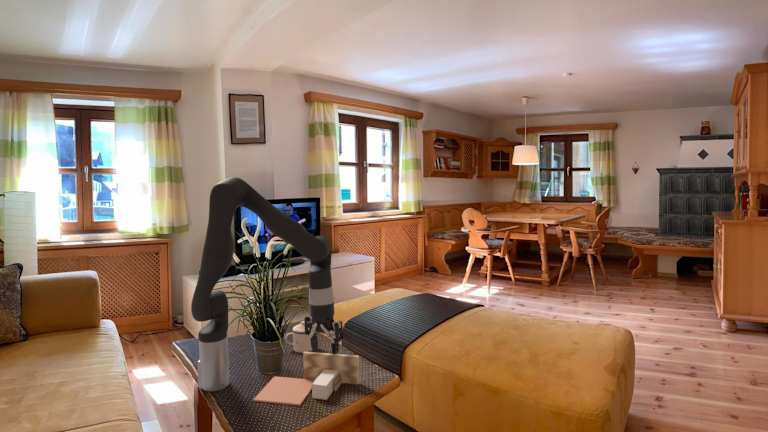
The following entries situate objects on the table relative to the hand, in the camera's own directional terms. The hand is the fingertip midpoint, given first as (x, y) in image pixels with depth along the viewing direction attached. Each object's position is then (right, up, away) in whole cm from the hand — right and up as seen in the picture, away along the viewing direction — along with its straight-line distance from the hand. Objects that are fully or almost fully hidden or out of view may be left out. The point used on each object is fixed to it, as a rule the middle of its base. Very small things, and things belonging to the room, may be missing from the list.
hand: (324, 351), depth 138 cm
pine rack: (-1, -16, +14) cm, 21 cm away
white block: (-1, -17, +11) cm, 20 cm away
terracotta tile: (-14, -17, +11) cm, 25 cm away
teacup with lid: (-16, -13, +45) cm, 50 cm away
